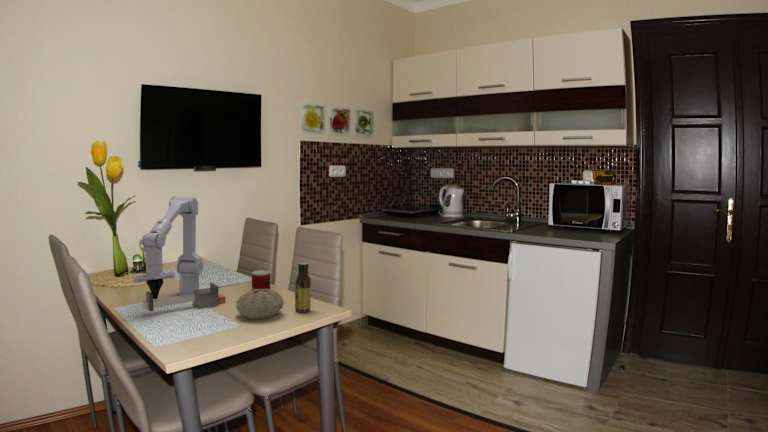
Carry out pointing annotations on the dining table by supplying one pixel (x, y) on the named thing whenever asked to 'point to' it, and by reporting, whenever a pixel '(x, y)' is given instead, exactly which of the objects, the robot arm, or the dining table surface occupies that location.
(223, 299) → the spacer
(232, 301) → the dining table surface
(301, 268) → the sauce bottle
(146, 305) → the shaft
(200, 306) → the bearing block
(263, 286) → the canned food
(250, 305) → the decorative shell
